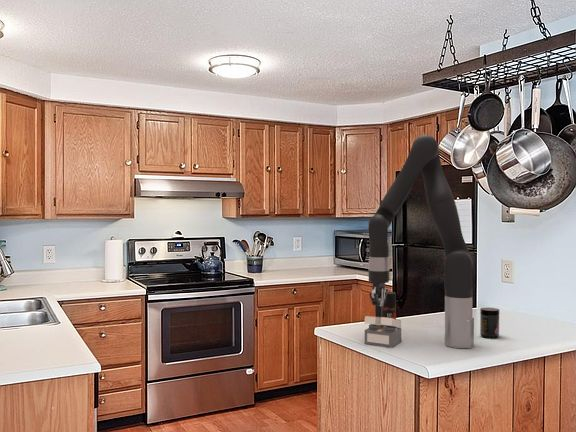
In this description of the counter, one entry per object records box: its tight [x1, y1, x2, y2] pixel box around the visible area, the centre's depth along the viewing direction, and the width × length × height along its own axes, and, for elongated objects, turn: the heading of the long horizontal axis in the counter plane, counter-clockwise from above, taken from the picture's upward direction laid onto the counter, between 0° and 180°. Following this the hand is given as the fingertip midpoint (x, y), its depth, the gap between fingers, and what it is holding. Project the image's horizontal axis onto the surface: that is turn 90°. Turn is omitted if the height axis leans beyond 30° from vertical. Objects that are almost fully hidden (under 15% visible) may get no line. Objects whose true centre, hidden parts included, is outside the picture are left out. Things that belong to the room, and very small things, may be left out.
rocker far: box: [364, 315, 382, 325], centre depth 193 cm, size 4×10×3 cm, turn 149°
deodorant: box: [381, 291, 397, 327], centre depth 210 cm, size 6×6×15 cm
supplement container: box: [479, 307, 500, 340], centre depth 200 cm, size 7×7×10 cm
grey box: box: [364, 324, 402, 349], centre depth 191 cm, size 10×10×6 cm
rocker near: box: [381, 317, 402, 328], centre depth 190 cm, size 4×10×3 cm, turn 149°
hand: (378, 316), depth 196 cm, fingers closed
